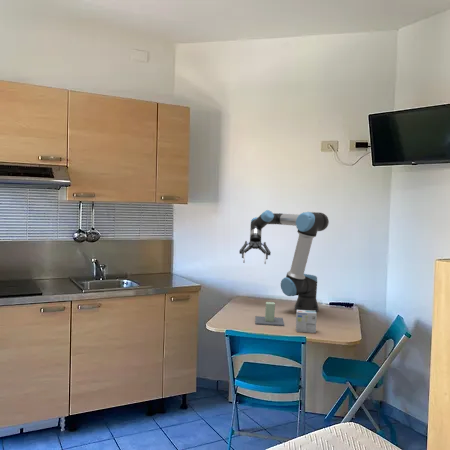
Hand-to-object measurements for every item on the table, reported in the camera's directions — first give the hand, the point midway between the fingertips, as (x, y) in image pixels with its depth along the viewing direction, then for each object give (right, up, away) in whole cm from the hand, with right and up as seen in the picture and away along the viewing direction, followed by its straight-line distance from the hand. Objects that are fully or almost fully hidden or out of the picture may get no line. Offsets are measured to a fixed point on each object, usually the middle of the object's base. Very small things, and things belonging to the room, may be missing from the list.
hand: (254, 262), depth 299 cm
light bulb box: (+24, -33, -48) cm, 63 cm away
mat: (+6, -31, -32) cm, 45 cm away
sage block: (+7, -31, -32) cm, 45 cm away
